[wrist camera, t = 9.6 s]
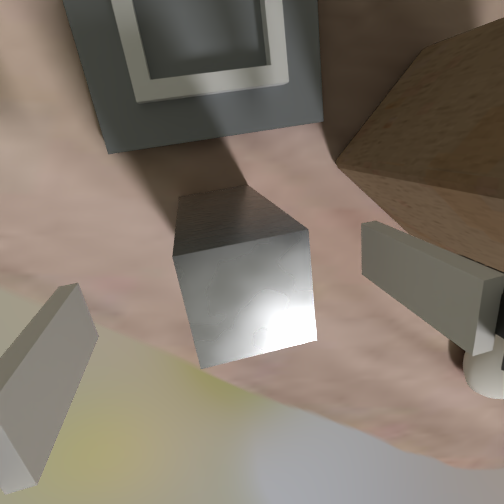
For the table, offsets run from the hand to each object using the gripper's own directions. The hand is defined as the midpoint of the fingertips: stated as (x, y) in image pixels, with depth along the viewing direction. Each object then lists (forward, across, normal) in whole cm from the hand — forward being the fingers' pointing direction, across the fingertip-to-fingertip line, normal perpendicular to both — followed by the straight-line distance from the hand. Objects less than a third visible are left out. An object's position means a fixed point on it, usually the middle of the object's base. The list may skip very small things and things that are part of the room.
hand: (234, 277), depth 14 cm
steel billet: (+9, 0, 0) cm, 9 cm away
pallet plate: (+9, -2, -13) cm, 16 cm away
